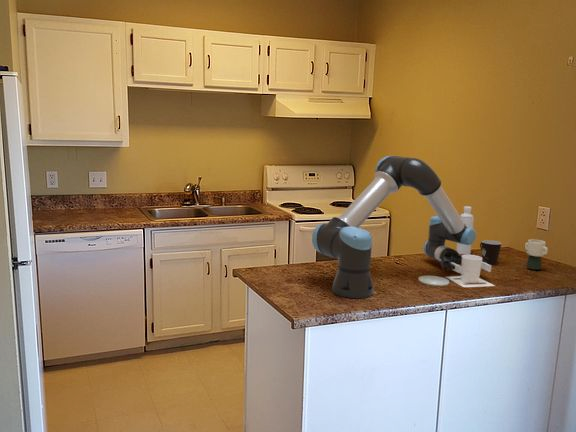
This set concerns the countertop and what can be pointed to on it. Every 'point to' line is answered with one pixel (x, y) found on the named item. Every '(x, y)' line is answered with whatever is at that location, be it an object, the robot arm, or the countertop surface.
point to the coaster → (434, 280)
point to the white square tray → (464, 284)
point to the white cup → (470, 268)
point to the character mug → (535, 253)
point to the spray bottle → (468, 222)
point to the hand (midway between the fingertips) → (475, 269)
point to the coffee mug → (490, 251)
